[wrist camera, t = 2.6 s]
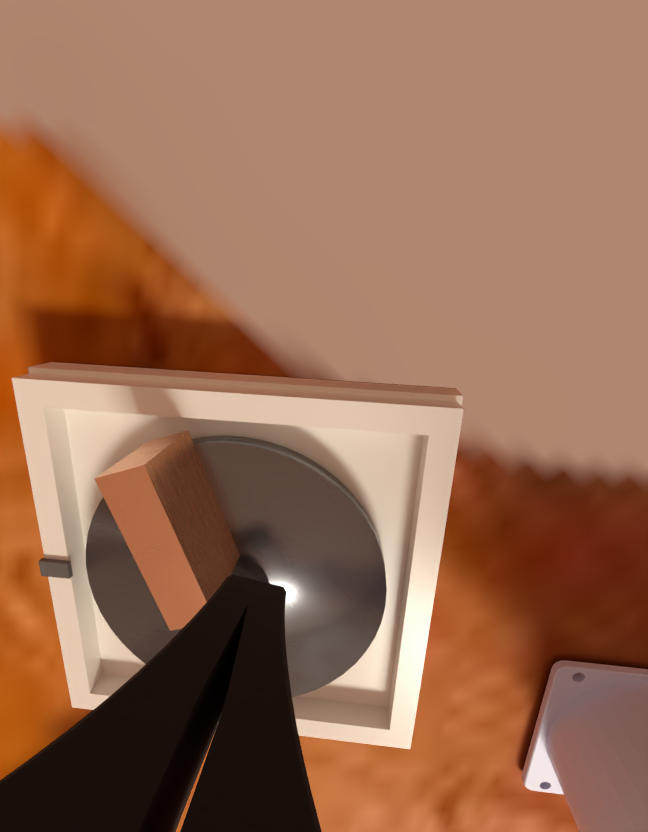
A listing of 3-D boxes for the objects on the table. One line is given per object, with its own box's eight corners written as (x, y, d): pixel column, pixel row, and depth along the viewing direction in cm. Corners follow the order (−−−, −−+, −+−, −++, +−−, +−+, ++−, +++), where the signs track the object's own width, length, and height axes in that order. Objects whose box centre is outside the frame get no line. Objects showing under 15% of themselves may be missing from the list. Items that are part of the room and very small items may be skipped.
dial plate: (455, 388, 15) (472, 405, 13) (408, 704, 20) (415, 758, 17) (51, 362, 16) (0, 373, 14) (97, 668, 21) (65, 714, 18)
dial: (416, 660, 17) (432, 759, 13) (166, 701, 19) (121, 797, 15) (331, 384, 14) (322, 416, 10) (41, 467, 16) (-53, 518, 12)
